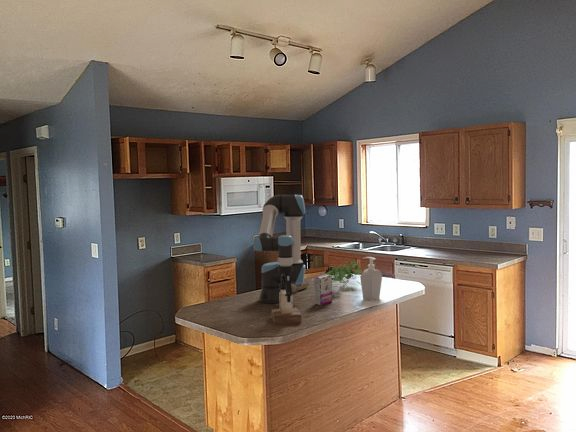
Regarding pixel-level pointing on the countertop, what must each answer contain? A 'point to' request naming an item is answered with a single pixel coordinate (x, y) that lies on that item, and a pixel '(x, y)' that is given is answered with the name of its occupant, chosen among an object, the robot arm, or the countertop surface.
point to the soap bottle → (371, 281)
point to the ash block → (284, 303)
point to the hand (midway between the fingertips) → (285, 304)
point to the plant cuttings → (340, 273)
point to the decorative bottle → (299, 286)
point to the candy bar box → (323, 289)
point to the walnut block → (285, 317)
